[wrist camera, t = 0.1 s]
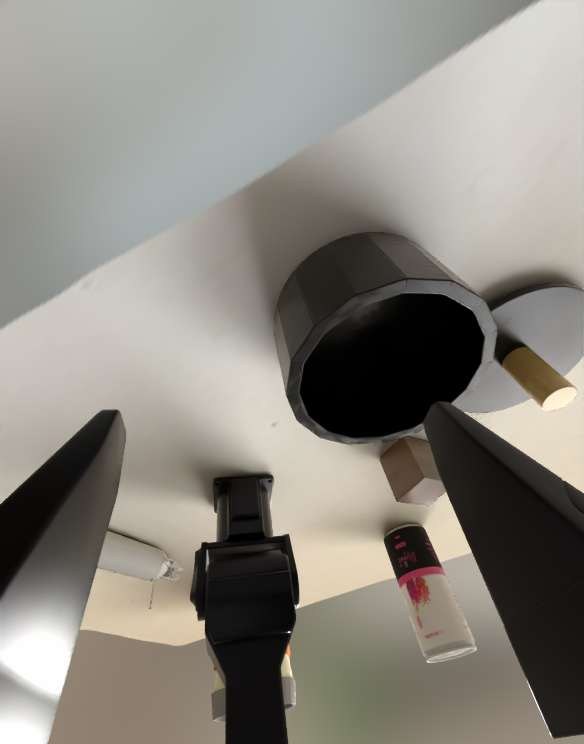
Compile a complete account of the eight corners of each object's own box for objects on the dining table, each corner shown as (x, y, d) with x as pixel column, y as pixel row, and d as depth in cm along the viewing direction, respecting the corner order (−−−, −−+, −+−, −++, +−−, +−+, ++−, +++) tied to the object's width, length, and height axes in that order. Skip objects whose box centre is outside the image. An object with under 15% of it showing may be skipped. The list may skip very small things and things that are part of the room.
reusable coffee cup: (239, 577, 55) (242, 707, 43) (298, 585, 61) (315, 699, 49) (200, 605, 60) (194, 726, 49) (258, 609, 66) (265, 717, 55)
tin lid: (530, 403, 36) (576, 450, 31) (412, 406, 33) (443, 458, 29) (624, 282, 27) (707, 324, 23) (476, 275, 25) (534, 319, 20)
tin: (406, 379, 31) (444, 440, 25) (268, 381, 28) (278, 448, 23) (468, 238, 23) (541, 284, 18) (283, 224, 20) (303, 272, 15)
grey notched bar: (41, 524, 37) (13, 592, 32) (70, 506, 36) (45, 575, 31) (168, 564, 48) (161, 620, 43) (193, 552, 46) (189, 608, 41)
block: (432, 442, 38) (456, 483, 34) (408, 465, 40) (427, 506, 36) (402, 435, 36) (424, 477, 32) (379, 459, 38) (396, 501, 35)
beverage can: (382, 528, 50) (428, 656, 39) (425, 518, 51) (483, 643, 39) (382, 545, 55) (422, 666, 43) (421, 537, 55) (472, 654, 44)
